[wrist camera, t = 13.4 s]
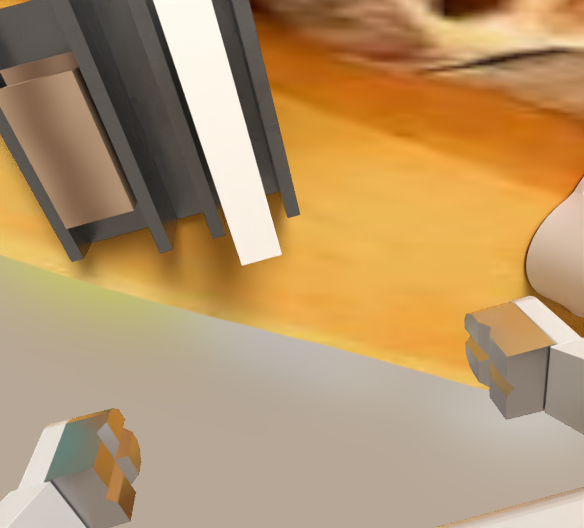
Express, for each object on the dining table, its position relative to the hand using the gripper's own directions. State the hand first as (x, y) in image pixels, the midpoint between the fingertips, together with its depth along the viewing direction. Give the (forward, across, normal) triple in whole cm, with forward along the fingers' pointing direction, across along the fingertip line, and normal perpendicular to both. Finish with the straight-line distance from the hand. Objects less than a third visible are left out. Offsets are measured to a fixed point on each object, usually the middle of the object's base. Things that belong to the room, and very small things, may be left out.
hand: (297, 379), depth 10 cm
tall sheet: (+30, -1, +2) cm, 30 cm away
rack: (+32, -7, +2) cm, 32 cm away
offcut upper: (+28, -12, +2) cm, 30 cm away
